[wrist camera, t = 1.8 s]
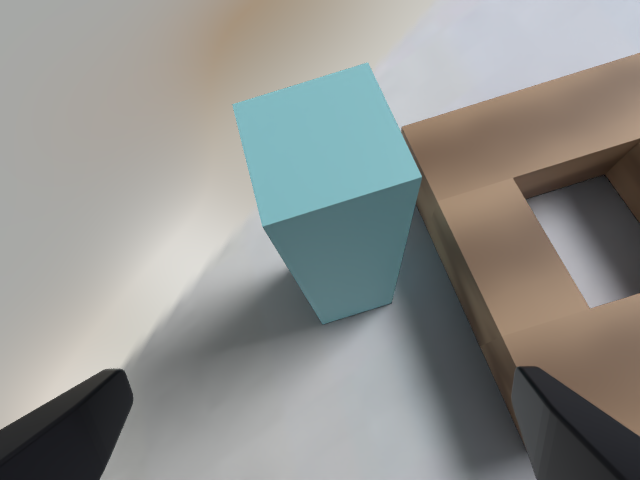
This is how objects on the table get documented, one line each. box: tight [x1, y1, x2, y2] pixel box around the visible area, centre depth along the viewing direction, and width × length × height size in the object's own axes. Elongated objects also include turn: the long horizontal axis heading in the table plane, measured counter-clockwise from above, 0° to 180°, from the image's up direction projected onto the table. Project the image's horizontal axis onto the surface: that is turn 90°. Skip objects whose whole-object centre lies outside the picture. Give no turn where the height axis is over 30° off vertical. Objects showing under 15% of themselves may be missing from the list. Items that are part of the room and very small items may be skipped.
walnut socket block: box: [401, 53, 640, 450], centre depth 19 cm, size 17×15×4 cm
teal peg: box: [233, 63, 422, 324], centre depth 16 cm, size 4×4×13 cm
